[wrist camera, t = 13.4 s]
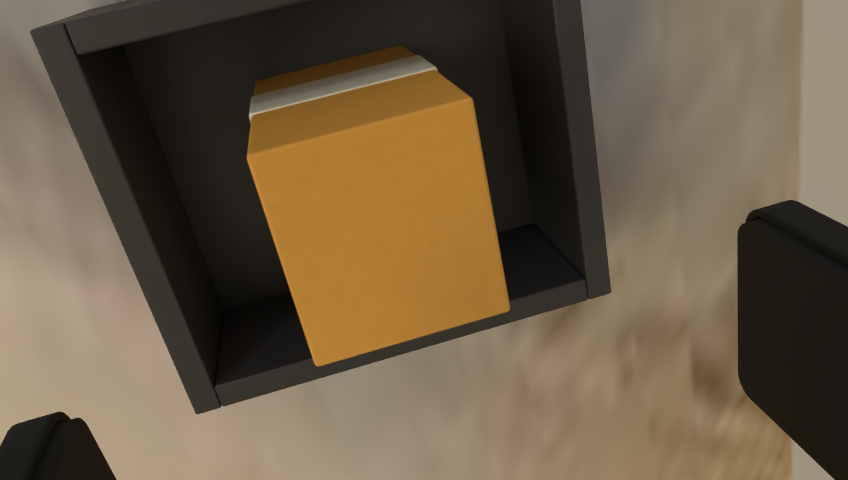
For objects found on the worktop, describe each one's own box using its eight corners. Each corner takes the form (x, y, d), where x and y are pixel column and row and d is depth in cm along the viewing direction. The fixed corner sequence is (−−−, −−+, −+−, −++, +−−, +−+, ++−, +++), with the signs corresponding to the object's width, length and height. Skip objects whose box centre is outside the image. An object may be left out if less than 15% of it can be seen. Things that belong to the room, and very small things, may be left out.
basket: (210, 322, 26) (195, 415, 21) (87, 10, 22) (28, 30, 16) (548, 228, 28) (612, 293, 23) (502, -87, 23) (571, -97, 18)
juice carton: (252, 79, 23) (241, 154, 14) (403, 41, 23) (475, 93, 15) (300, 232, 25) (314, 371, 17) (436, 195, 25) (514, 313, 17)
